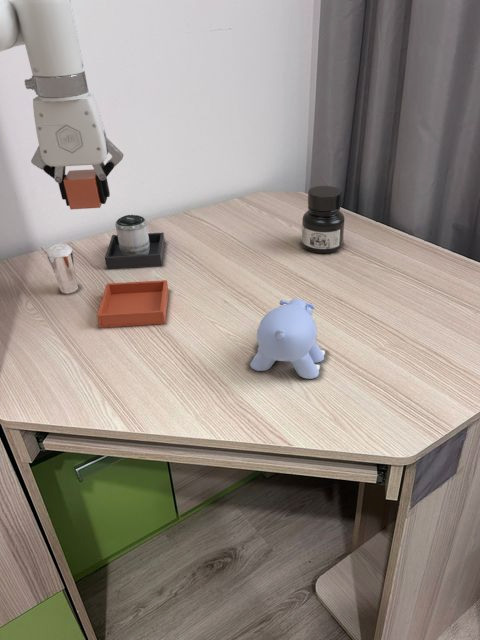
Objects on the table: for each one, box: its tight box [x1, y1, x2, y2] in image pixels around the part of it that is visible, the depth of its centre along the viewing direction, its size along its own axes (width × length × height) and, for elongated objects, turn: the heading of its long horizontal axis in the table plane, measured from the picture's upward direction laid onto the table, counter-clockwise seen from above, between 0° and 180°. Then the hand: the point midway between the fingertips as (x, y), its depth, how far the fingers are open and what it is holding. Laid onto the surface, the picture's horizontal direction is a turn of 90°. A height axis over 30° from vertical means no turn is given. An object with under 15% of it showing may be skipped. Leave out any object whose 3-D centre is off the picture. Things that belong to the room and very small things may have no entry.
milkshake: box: [40, 243, 79, 295], centre depth 100 cm, size 4×5×10 cm
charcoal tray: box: [104, 232, 166, 270], centre depth 114 cm, size 11×11×2 cm
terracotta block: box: [63, 168, 103, 210], centre depth 91 cm, size 5×5×5 cm
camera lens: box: [114, 214, 150, 256], centre depth 112 cm, size 6×6×8 cm
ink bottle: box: [301, 185, 345, 254], centre depth 114 cm, size 10×9×12 cm
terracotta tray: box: [96, 279, 170, 329], centre depth 97 cm, size 11×11×2 cm
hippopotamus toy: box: [249, 298, 326, 380], centre depth 82 cm, size 11×15×10 cm
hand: (87, 201), depth 92 cm, fingers closed on terracotta block, 5 cm apart
